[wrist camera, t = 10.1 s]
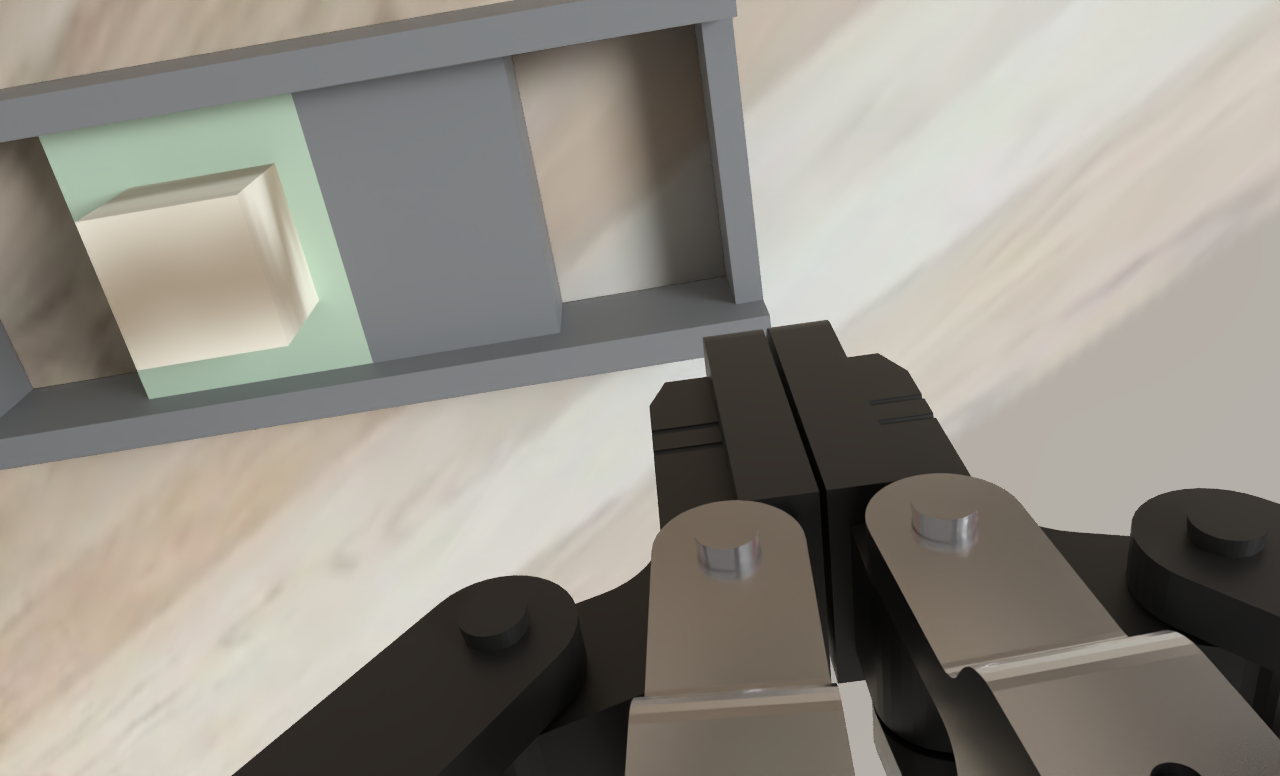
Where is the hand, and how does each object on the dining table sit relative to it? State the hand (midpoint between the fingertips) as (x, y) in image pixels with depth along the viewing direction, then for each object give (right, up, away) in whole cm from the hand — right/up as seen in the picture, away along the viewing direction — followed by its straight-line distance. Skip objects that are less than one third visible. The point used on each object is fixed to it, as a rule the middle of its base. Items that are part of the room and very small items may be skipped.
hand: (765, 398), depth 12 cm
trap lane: (-13, +7, +25) cm, 29 cm away
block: (-16, +5, +23) cm, 28 cm away
